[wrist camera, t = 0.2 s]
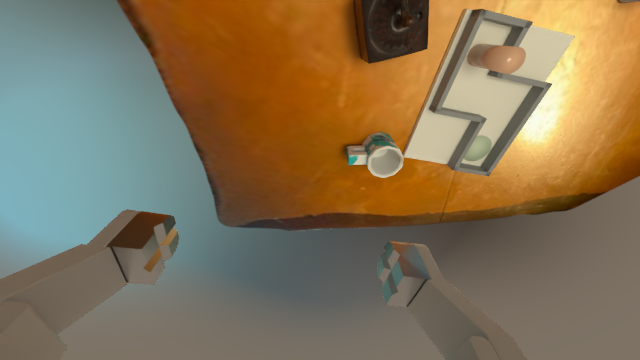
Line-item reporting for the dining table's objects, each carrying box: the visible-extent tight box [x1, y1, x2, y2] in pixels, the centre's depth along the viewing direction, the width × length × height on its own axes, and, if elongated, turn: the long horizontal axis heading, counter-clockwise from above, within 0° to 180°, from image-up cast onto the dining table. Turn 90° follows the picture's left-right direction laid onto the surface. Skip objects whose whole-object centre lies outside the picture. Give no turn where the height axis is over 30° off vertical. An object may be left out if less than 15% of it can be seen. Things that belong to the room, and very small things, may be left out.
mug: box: [346, 132, 404, 178], centre depth 56 cm, size 8×12×8 cm
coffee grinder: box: [354, 0, 429, 63], centre depth 36 cm, size 16×11×18 cm
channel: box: [402, 9, 575, 176], centre depth 52 cm, size 31×23×4 cm
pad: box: [464, 135, 492, 161], centre depth 58 cm, size 7×7×1 cm
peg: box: [467, 44, 526, 74], centre depth 43 cm, size 4×4×10 cm
